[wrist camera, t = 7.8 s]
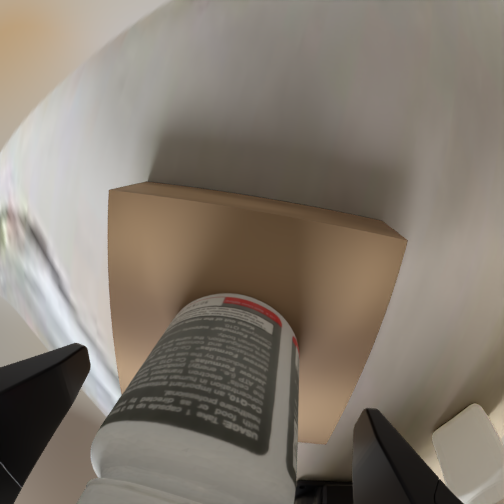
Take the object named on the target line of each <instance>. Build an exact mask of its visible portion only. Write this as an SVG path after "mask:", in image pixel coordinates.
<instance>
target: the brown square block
mask: <svg viewBox="0 0 504 504" xmlns="http://www.w3.org/2000/svg"><path fill="white" fill-rule="evenodd" d="M407 241H408V240H406V239H405V238H404V237H403V236H401V235H400V234H399V233H398V232H396V231H395V230H394V229H392V228H391V227H390V226H389V225H387V224H386V223H385V222H383V221H380V220H376V219H371V218H367V217H362V216H357V215H352V214H348V213H343V212H338V211H333V210H328V209H323V208H317V207H312V206H307V205H301V204H296V203H290V202H285V201H279V200H273V199H267V198H261V197H255V196H249V195H242V194H236V193H229V192H223V191H216V190H209V189H202V188H194V187H187V186H179V185H171V184H163V183H155V182H143V183H138V184H133V185H129V186H124V187H120V188H115V189H111V190H109V199H108V275H109V294H110V308H111V319H112V330H113V339H114V347H115V355H116V362H117V369H118V376H119V382H120V388H121V393H122V394H123V393H124V391H125V390H126V388H127V387H128V385H129V384H130V382H131V381H132V379H133V378H134V376H135V375H136V373H137V372H138V370H139V369H140V367H141V366H142V365H143V363H144V362H145V360H146V359H147V357H148V356H149V354H150V353H151V351H152V350H153V348H154V347H155V345H156V344H157V342H158V341H159V339H160V338H161V337H162V335H163V334H164V332H165V331H166V329H167V328H168V326H169V325H170V323H171V322H172V321H173V319H174V318H175V317H176V315H177V314H178V313H179V312H180V311H181V310H182V309H183V308H184V307H185V306H186V305H188V304H189V303H191V302H193V301H195V300H197V299H199V298H202V297H205V296H209V295H214V294H222V293H232V294H240V295H245V296H249V297H252V298H254V299H257V300H259V301H262V302H263V303H265V304H267V305H269V306H270V307H272V308H273V309H274V310H276V311H277V312H278V313H279V314H280V315H281V316H282V317H283V318H284V319H285V320H286V321H287V322H288V324H289V325H290V327H291V329H292V330H293V332H294V334H295V337H296V339H297V343H298V347H299V357H300V358H299V406H298V442H304V443H314V444H326V443H327V442H328V440H329V438H330V436H331V434H332V432H333V431H334V429H335V427H336V425H337V423H338V421H339V419H340V417H341V415H342V413H343V411H344V409H345V407H346V405H347V403H348V401H349V399H350V397H351V395H352V393H353V391H354V388H355V386H356V384H357V382H358V380H359V377H360V375H361V373H362V371H363V368H364V366H365V364H366V361H367V359H368V357H369V354H370V352H371V349H372V347H373V344H374V342H375V339H376V337H377V334H378V332H379V329H380V326H381V324H382V321H383V318H384V315H385V313H386V310H387V307H388V304H389V301H390V298H391V295H392V292H393V289H394V286H395V283H396V280H397V276H398V273H399V270H400V266H401V263H402V260H403V256H404V252H405V249H406V245H407Z"/></svg>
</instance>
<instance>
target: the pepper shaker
mask: <svg viewBox="0 0 504 504" xmlns="http://www.w3.org/2000/svg"><path fill="white" fill-rule="evenodd" d="M432 442H433V445H434V448H435V451H436V454H437V457H438V460H439V463H440V467H441V470H442V473H443V476H444V480H445V483H446V486H447V487H448V488H449V489H450V490H451V492H452V493H453V494H454V495H455V496H456V497H457V498H459V499H460V500H461V501H462V502H463V503H464V504H504V445H503V443H502V441H501V439H500V437H499V435H498V433H497V431H496V429H495V427H494V425H493V423H492V422H491V420H490V418H489V417H488V415H487V414H486V413H485V411H484V410H483V408H482V407H481V406H480V405H478V404H476V403H474V404H471V405H469V406H468V407H467V408H466V409H464V410H463V411H462V412H460V413H459V414H458V415H456V416H455V417H454V418H452V419H451V420H450V421H448V422H447V423H445V424H444V425H443V426H441V427H440V428H438V429H437V430H436V431H435V432H434V433H433V434H432Z"/></svg>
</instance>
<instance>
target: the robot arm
mask: <svg viewBox="0 0 504 504" xmlns="http://www.w3.org/2000/svg"><path fill="white" fill-rule="evenodd" d="M89 371H90V360H89V355H88V350H87V348H86V347H85V346H84V345H81V344H79V343H73V344H70V345H67V346H64V347H62V348H59V349H56V350H53V351H50V352H47V353H44V354H41V355H38V356H35V357H31V358H29V359H26V360H22V361H19V362H16V363H13V364H10V365H7V366H4V367H0V504H14V502H15V500H16V498H17V496H18V494H19V492H20V491H21V489H22V488H21V487H23V485H24V483H25V482H26V479H27V478H28V476H29V474H30V473H31V471H32V469H33V468H34V466H35V464H36V462H37V461H38V459H39V457H40V456H41V454H42V452H43V451H44V449H45V447H46V446H47V444H48V442H49V441H50V439H51V437H52V436H53V434H54V433H55V431H56V429H57V428H58V426H59V425H60V423H61V422H62V420H63V418H64V417H65V415H66V414H67V412H68V411H69V409H70V407H71V406H72V404H73V402H74V400H75V399H76V397H77V395H78V392H79V390H80V389H81V387H82V385H83V383H84V381H85V379H86V377H87V375H88V373H89ZM352 481H353V482H322V481H306V480H301V481H298V482H296V491H295V498H294V504H464V503H463V502H462V501H461V500H460V499H459V498H457V497H456V496H455V495H454V494H453V493H452V492H451V490H450V489H449V488H448V487H447V486H446V485H445V484H444V483H443V482H442V481H441V480H440V479H439V478H438V476H437V475H436V474H435V473H434V472H433V471H432V470H431V469H430V467H429V466H428V465H427V464H426V463H425V462H424V461H423V460H422V458H421V457H420V456H419V455H418V454H417V453H416V452H415V451H414V449H413V448H412V447H411V446H410V445H409V444H408V443H407V442H406V440H405V439H404V438H403V437H402V436H401V435H400V434H399V433H398V431H397V430H396V429H395V428H394V427H393V426H392V425H391V424H390V422H389V421H388V420H387V419H386V418H385V417H384V416H383V414H382V413H381V412H380V411H379V410H378V409H374V408H365V409H364V410H363V412H362V413H361V415H360V417H359V419H358V421H357V422H356V424H355V427H354V437H353V460H352Z"/></svg>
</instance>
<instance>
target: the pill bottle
mask: <svg viewBox="0 0 504 504" xmlns="http://www.w3.org/2000/svg"><path fill="white" fill-rule="evenodd" d="M299 358H300V357H299V347H298V343H297V339H296V337H295V334H294V332H293V330H292V329H291V327H290V325H289V324H288V322H287V321H286V320H285V319H284V318H283V317H282V316H281V315H280V314H279V313H278V312H277V311H276V310H274V309H273V308H272V307H270V306H269V305H267V304H265V303H263V302H262V301H259V300H257V299H254V298H252V297H249V296H245V295H240V294H232V293H222V294H214V295H209V296H205V297H202V298H199V299H197V300H195V301H193V302H191V303H189V304H188V305H186V306H185V307H184V308H183V309H182V310H181V311H180V312H179V313H178V314H177V315H176V317H175V318H174V319H173V321H172V322H171V323H170V325H169V326H168V328H167V329H166V331H165V332H164V334H163V335H162V337H161V338H160V339H159V341H158V342H157V344H156V345H155V347H154V348H153V350H152V351H151V353H150V354H149V356H148V357H147V359H146V360H145V362H144V363H143V365H142V366H141V367H140V369H139V370H138V372H137V373H136V375H135V376H134V378H133V379H132V381H131V382H130V384H129V385H128V387H127V388H126V390H125V391H124V393H123V394H122V396H121V397H120V398H119V400H118V401H117V403H116V405H115V406H114V408H113V409H112V411H111V412H110V414H109V415H108V416H107V418H106V419H105V421H104V422H103V424H102V425H101V427H100V429H99V430H98V432H97V434H96V436H95V438H94V440H93V442H92V446H91V461H92V465H93V468H94V471H95V472H96V474H97V476H98V478H96V479H92V480H90V481H89V482H88V483H87V485H86V489H84V491H83V493H82V495H81V497H80V499H79V500H78V502H77V504H294V498H295V491H296V473H297V445H298V406H299Z"/></svg>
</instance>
